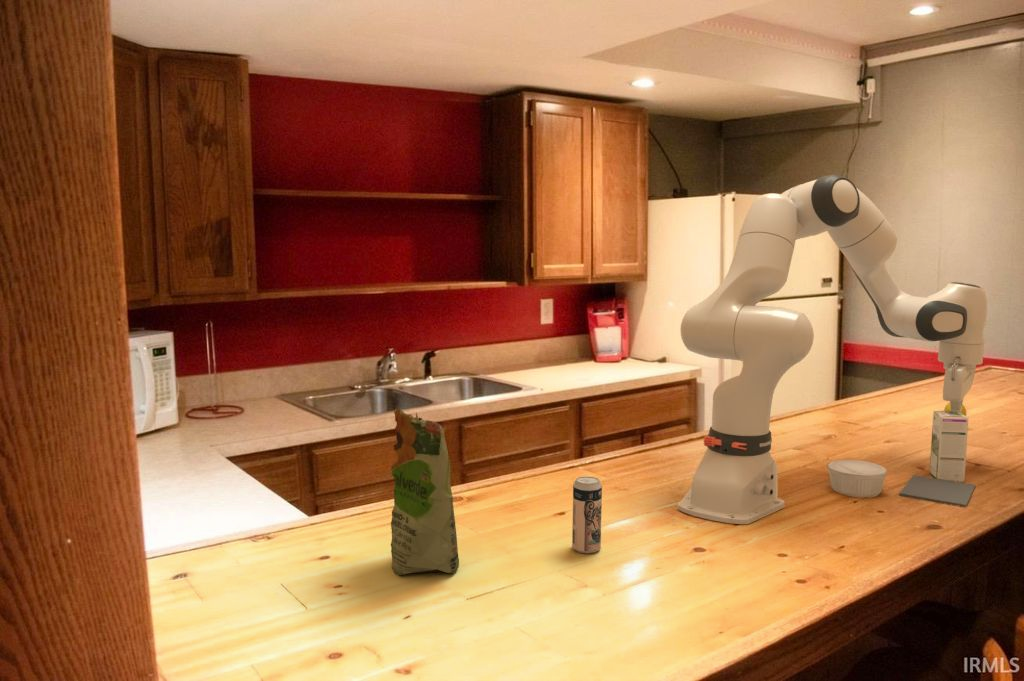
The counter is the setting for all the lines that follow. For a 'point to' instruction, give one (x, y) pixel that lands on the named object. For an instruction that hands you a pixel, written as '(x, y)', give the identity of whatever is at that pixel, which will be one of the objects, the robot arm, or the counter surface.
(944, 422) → the syrup box
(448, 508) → the pouch
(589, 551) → the beer can
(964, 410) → the lemon
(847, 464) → the ramekin
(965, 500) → the mat
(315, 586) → the counter surface
